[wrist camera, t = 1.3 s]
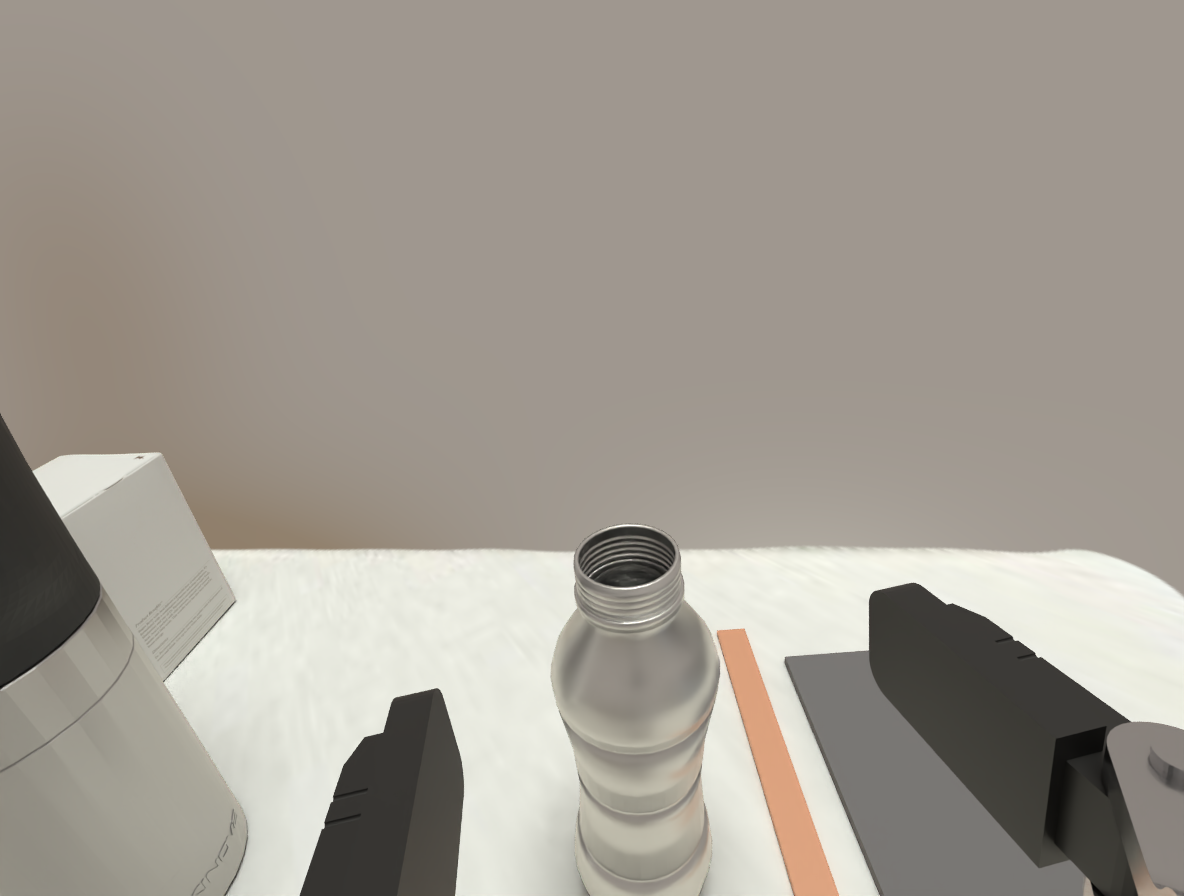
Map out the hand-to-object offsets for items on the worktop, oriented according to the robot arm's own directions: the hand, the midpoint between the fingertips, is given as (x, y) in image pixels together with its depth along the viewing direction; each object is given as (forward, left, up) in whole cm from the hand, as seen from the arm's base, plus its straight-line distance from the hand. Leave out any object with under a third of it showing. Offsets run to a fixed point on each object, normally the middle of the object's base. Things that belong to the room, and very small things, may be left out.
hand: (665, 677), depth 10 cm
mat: (+16, +11, -24) cm, 31 cm away
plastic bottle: (0, +8, -24) cm, 25 cm away
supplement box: (-38, +27, -24) cm, 53 cm away
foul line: (+8, +11, -24) cm, 27 cm away
